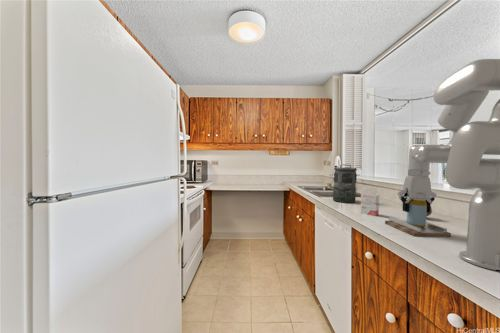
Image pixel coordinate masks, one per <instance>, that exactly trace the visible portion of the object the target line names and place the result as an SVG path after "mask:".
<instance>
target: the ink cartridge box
mask: <svg viewBox="0 0 500 333" xmlns="http://www.w3.org/2000/svg"><path fill="white" fill-rule="evenodd" d="M379 208H380V194H377V189H371V188H361V193H360V210H359V211H360V214H363V215H367V216H368V215H370V216H374V217H376V216H379V213H380V212H379V211H380V210H379Z"/></svg>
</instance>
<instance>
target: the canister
mask: <svg viewBox="0 0 500 333" xmlns="http://www.w3.org/2000/svg"><path fill="white" fill-rule="evenodd" d="M342 166H344V164H340V165H339V167H338V166H335V167H334V168H333V170H334V172H333V188H332V189H333V190H332V200H333V201H334V202H337V203H342V204H346V203H347V204H351V203H352V204H354V203H356V197H357V194H356V193H357V188H356V184H357V177H358V174H357V171H358V169H357V168H356V167H353V168H352V166H351V164H346V167H342ZM347 166H349V167H347Z"/></svg>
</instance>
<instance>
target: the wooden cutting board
mask: <svg viewBox="0 0 500 333" xmlns="http://www.w3.org/2000/svg"><path fill="white" fill-rule="evenodd" d="M388 221H392V222H395V223H397V224H400V225H402V226H405V227H407V228H410V229H412V230H415V231H417V232H421V233H444V232H448V228H446V227H443V226H440V225H437V224H433V223H432V222H431V223H430V222H428V221H426V226H425V227H424V228H419V227H417V226H414V225H411V224H409V223H406V221H407V219H405V220H404V219H402V220H400V219H397V218H395V217H392V216H388Z"/></svg>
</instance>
